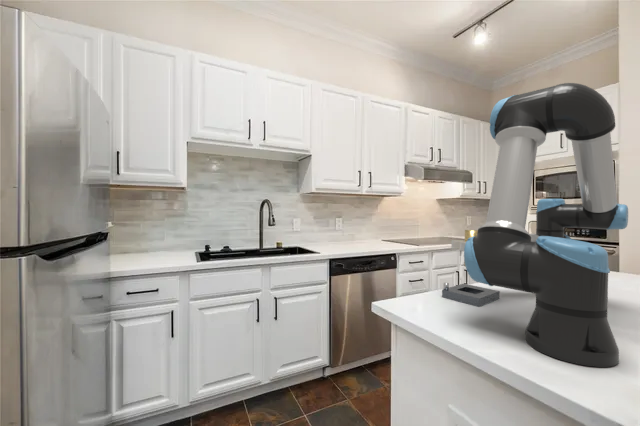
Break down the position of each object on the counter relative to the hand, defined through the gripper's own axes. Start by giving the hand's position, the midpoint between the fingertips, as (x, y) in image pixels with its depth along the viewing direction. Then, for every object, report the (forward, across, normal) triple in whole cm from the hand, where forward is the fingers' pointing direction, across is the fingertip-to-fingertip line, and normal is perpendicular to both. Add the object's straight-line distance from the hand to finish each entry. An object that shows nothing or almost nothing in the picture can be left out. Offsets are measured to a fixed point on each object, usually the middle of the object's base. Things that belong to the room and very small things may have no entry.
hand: (456, 245), depth 98 cm
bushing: (-5, 0, -7) cm, 9 cm away
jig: (-5, 0, -17) cm, 18 cm away
